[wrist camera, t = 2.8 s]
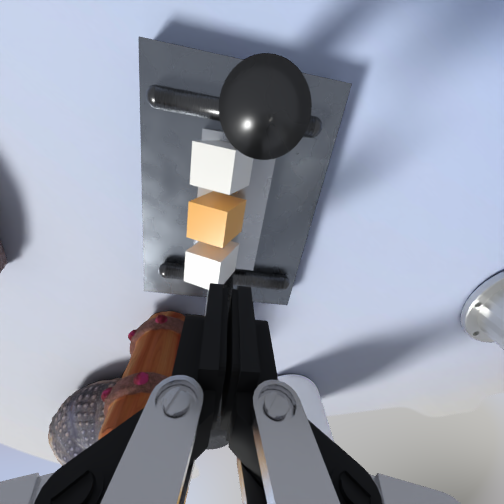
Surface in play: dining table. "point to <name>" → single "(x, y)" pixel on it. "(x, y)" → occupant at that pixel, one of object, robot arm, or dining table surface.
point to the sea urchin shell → (78, 421)
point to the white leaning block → (210, 263)
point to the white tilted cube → (219, 167)
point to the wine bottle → (309, 400)
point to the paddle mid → (215, 218)
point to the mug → (143, 368)
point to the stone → (2, 258)
